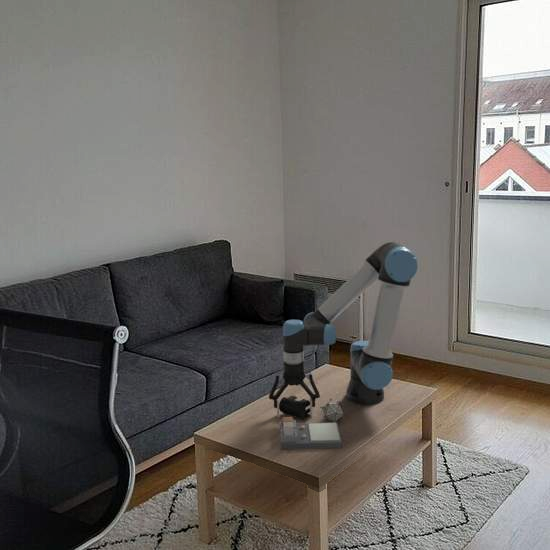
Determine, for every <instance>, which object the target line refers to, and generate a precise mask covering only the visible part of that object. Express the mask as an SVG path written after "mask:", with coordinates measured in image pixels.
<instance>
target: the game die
mask: <svg viewBox="0 0 550 550" xmlns="http://www.w3.org/2000/svg"><path fill="white" fill-rule="evenodd" d="M341 403H342V402H339V403H338V402H337V401H334V400H333V399H332V398H329V401H328V402H327V403H326V404H325V405H323V406H320V409H322V411H323V414H324V416H323V418H325V419H324V420H325V421H326V420H329V421H331V422H337V421H338V420H339V419H340V418H341V417H342V416H346V413H344V411H343V409H342V406H343V405H342V404H341Z"/></svg>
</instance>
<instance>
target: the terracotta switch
mask: <svg viewBox="0 0 550 550" xmlns="http://www.w3.org/2000/svg"><path fill="white" fill-rule="evenodd" d="M282 420H283V422H293V420H294V417H293V416H283V417H282Z"/></svg>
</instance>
